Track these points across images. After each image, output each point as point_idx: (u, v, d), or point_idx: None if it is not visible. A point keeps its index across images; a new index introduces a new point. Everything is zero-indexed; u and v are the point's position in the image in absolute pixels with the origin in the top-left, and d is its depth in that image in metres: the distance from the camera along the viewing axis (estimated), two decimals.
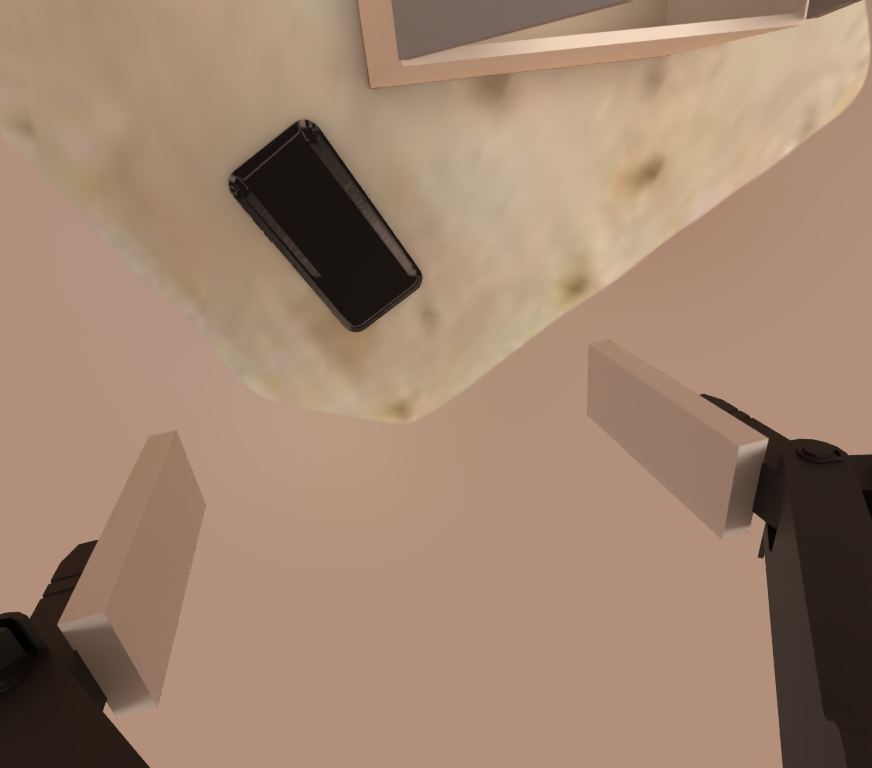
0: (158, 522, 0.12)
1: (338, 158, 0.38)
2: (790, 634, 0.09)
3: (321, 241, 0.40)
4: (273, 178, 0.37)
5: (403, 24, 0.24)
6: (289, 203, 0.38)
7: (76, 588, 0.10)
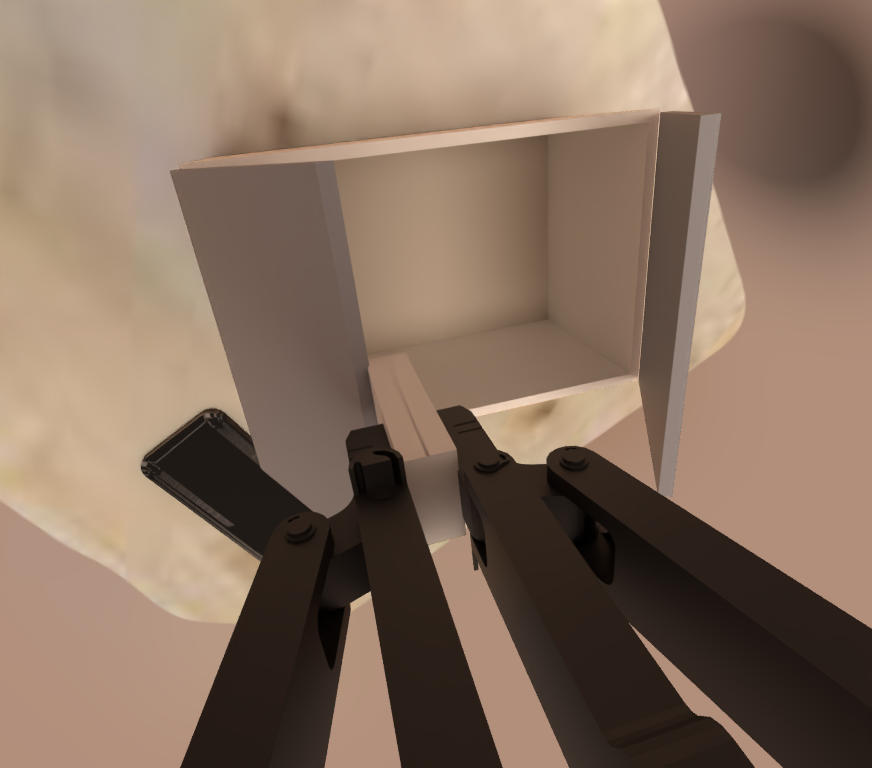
0: None
1: (243, 437, 0.41)
2: (537, 651, 0.09)
3: (232, 499, 0.43)
4: (183, 458, 0.41)
5: (260, 453, 0.28)
6: (199, 474, 0.42)
7: (394, 444, 0.13)
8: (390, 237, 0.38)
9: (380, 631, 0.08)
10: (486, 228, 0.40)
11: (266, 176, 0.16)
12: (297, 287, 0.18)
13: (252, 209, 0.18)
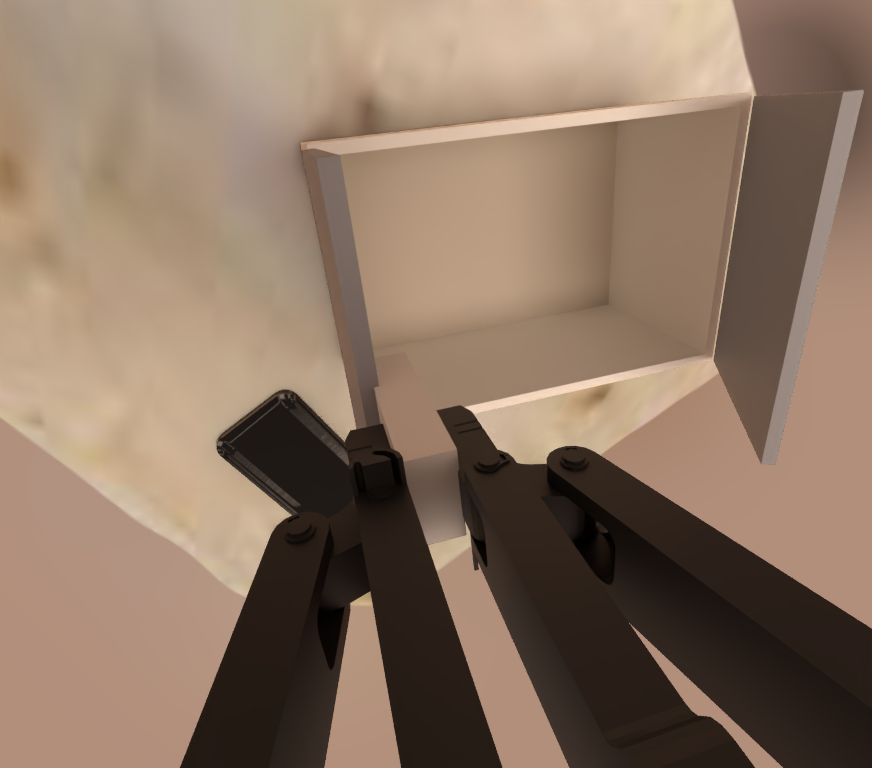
0: None
1: (314, 418, 0.42)
2: (537, 651, 0.09)
3: (300, 479, 0.45)
4: (256, 438, 0.42)
5: None
6: (271, 455, 0.43)
7: (394, 444, 0.13)
8: (462, 222, 0.39)
9: (380, 631, 0.08)
10: (554, 214, 0.41)
11: (312, 165, 0.16)
12: (335, 284, 0.17)
13: (316, 197, 0.18)
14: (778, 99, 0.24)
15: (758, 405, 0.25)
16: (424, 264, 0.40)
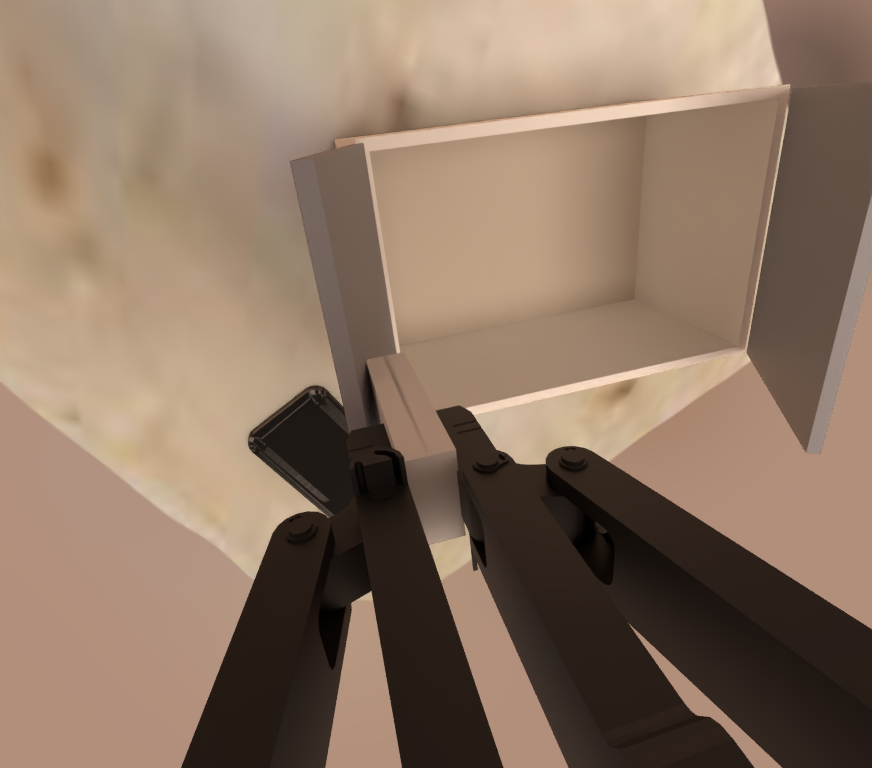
0: None
1: (344, 413, 0.43)
2: (536, 652, 0.09)
3: (329, 475, 0.45)
4: (287, 434, 0.42)
5: None
6: (301, 450, 0.43)
7: (395, 444, 0.13)
8: (492, 218, 0.39)
9: (381, 631, 0.08)
10: (582, 208, 0.41)
11: None
12: None
13: None
14: (822, 90, 0.24)
15: (802, 395, 0.26)
16: (454, 259, 0.40)
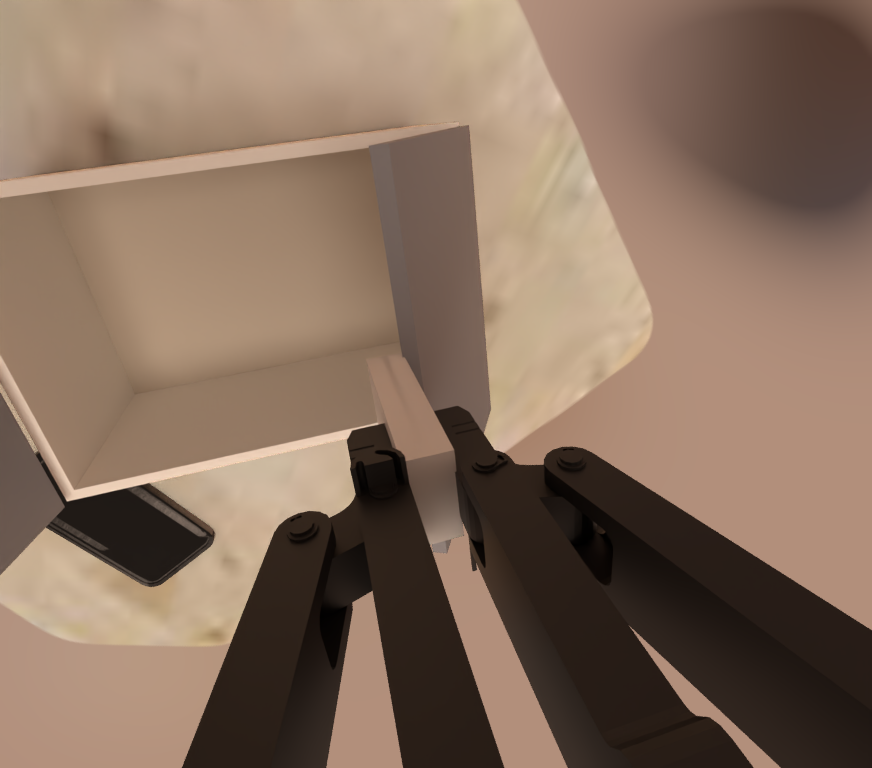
0: None
1: None
2: (536, 652, 0.09)
3: (102, 523, 0.42)
4: None
5: None
6: (62, 499, 0.41)
7: (396, 444, 0.13)
8: (240, 255, 0.36)
9: (382, 630, 0.08)
10: (347, 243, 0.38)
11: None
12: None
13: None
14: None
15: None
16: (203, 299, 0.37)
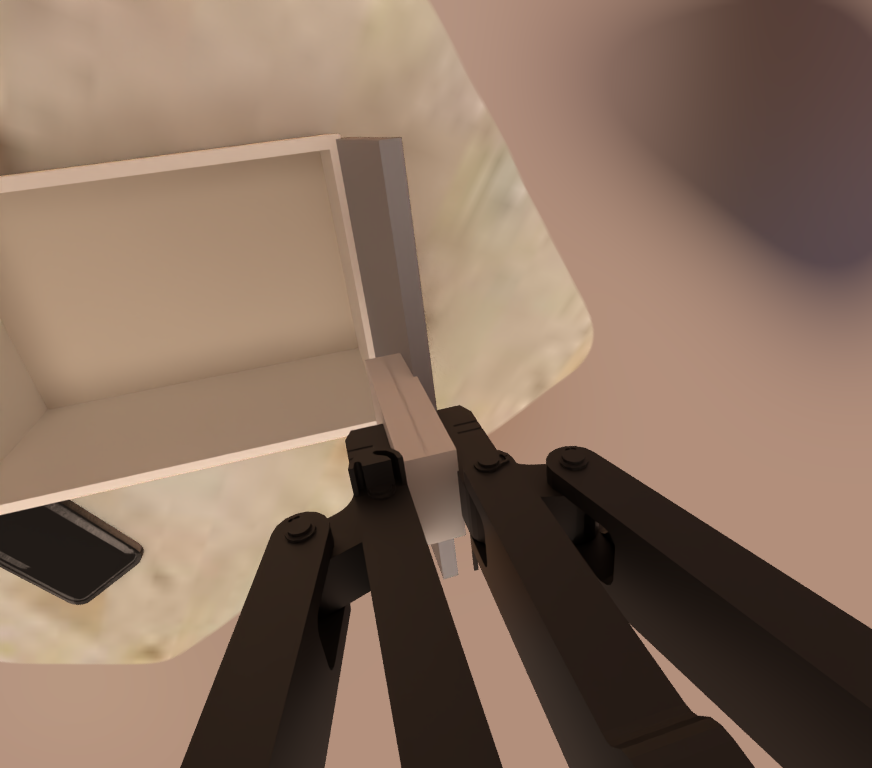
0: None
1: None
2: (537, 651, 0.09)
3: (21, 541, 0.41)
4: None
5: None
6: None
7: (394, 444, 0.13)
8: (151, 266, 0.35)
9: (380, 631, 0.08)
10: (265, 254, 0.37)
11: None
12: None
13: None
14: (347, 144, 0.20)
15: None
16: (114, 312, 0.36)
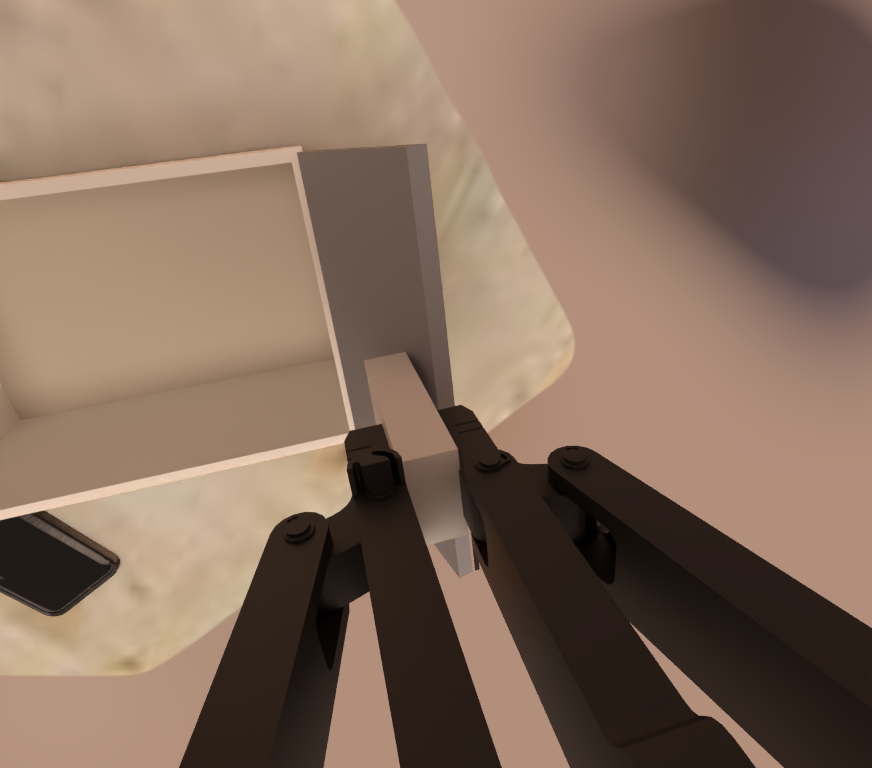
0: None
1: None
2: (538, 651, 0.09)
3: None
4: None
5: None
6: None
7: (393, 444, 0.13)
8: (124, 277, 0.35)
9: (379, 631, 0.08)
10: (240, 264, 0.37)
11: None
12: None
13: None
14: (326, 155, 0.20)
15: None
16: (87, 322, 0.36)
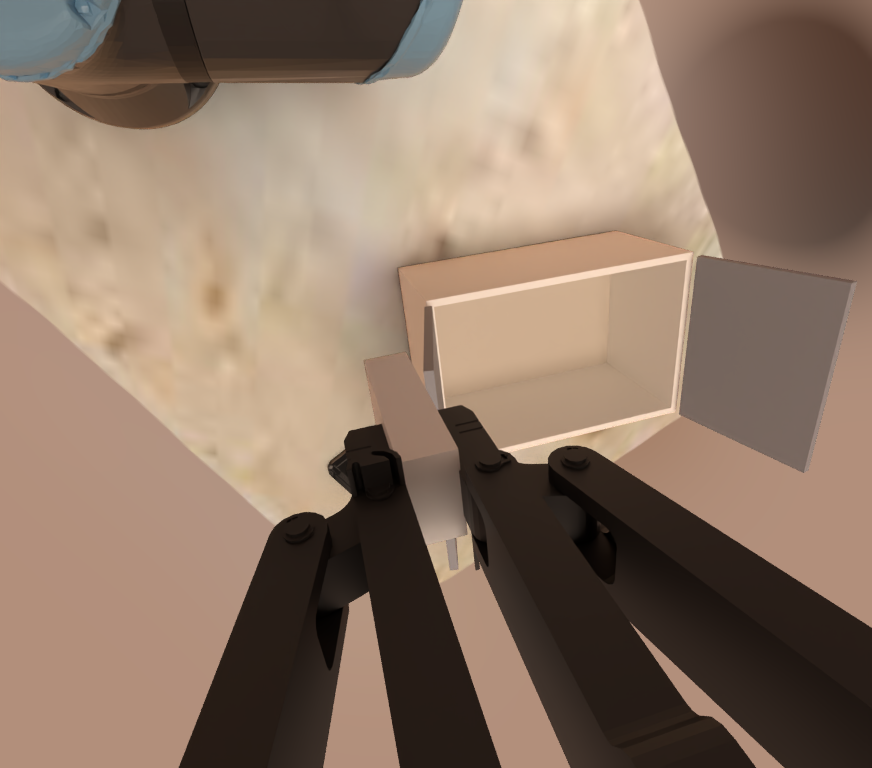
0: None
1: None
2: (538, 651, 0.09)
3: None
4: None
5: None
6: None
7: (393, 444, 0.13)
8: (503, 312, 0.56)
9: (379, 631, 0.08)
10: (567, 303, 0.58)
11: None
12: None
13: None
14: (747, 267, 0.41)
15: (784, 440, 0.42)
16: (476, 340, 0.57)
